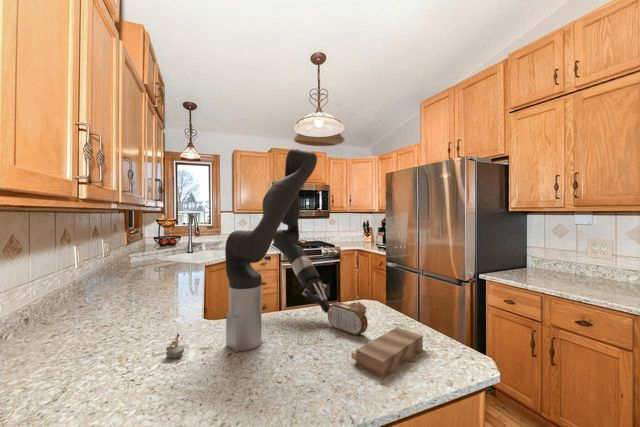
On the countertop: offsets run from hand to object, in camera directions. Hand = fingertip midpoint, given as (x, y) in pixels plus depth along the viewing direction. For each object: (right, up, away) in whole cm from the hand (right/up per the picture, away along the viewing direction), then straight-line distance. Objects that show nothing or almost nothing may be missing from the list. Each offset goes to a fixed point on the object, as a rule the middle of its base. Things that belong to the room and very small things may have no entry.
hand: (328, 311), depth 96 cm
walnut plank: (+16, -4, -22) cm, 28 cm away
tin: (+6, -5, -6) cm, 9 cm away
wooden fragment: (+9, -5, +13) cm, 17 cm away
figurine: (-42, -5, -22) cm, 47 cm away
